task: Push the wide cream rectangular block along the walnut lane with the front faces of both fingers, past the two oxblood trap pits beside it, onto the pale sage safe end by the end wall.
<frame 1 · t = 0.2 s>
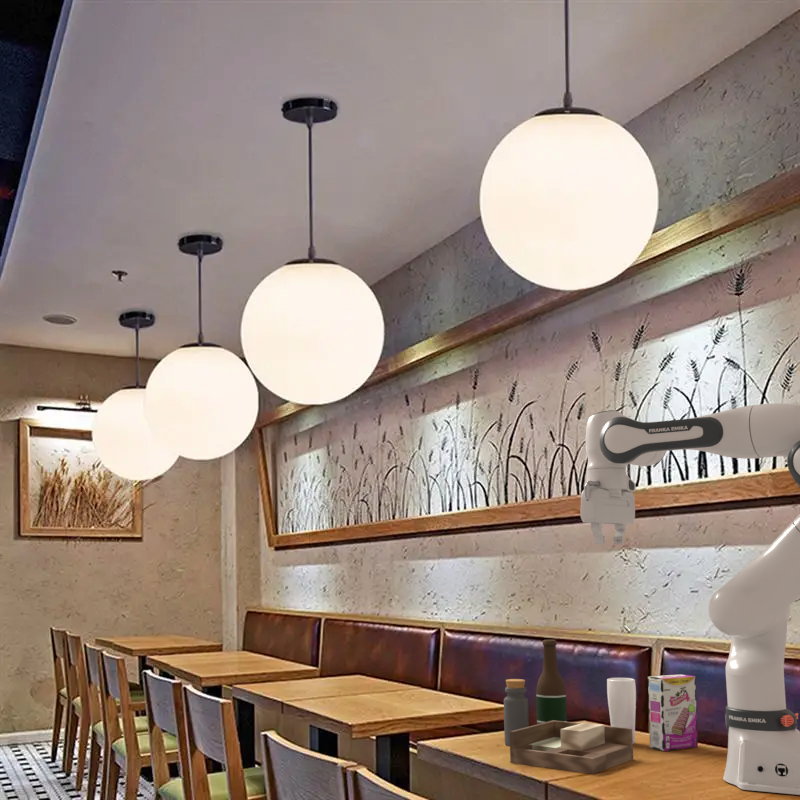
hand: (609, 544, 221), 47 cm above the table, fingers open, 8 cm apart
drinking glass: (623, 744, 236), on the table
beer bottle: (552, 741, 241), on the table
candy bar box: (674, 749, 230), on the table
brown compartment tray: (572, 760, 216), on the table
cream rectangular block: (583, 745, 217), point 3 cm above the table, touching brown compartment tray
bottle: (517, 745, 236), on the table
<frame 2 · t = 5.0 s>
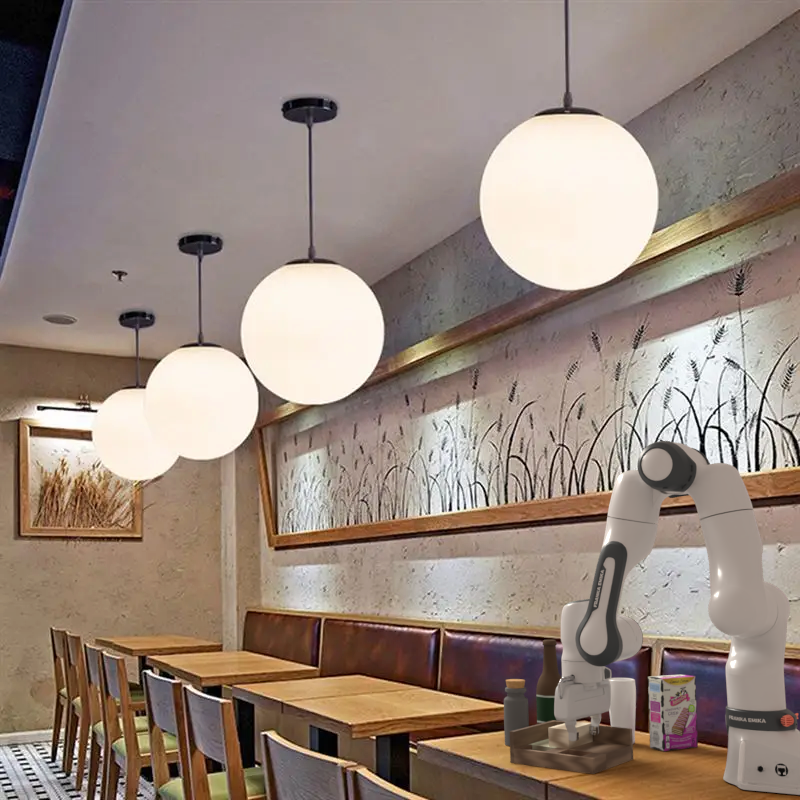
hand: (584, 737, 218), 5 cm above the table
cream rectangular block: (571, 744, 219), point 3 cm above the table, touching gripper, brown compartment tray
everything else where it was.
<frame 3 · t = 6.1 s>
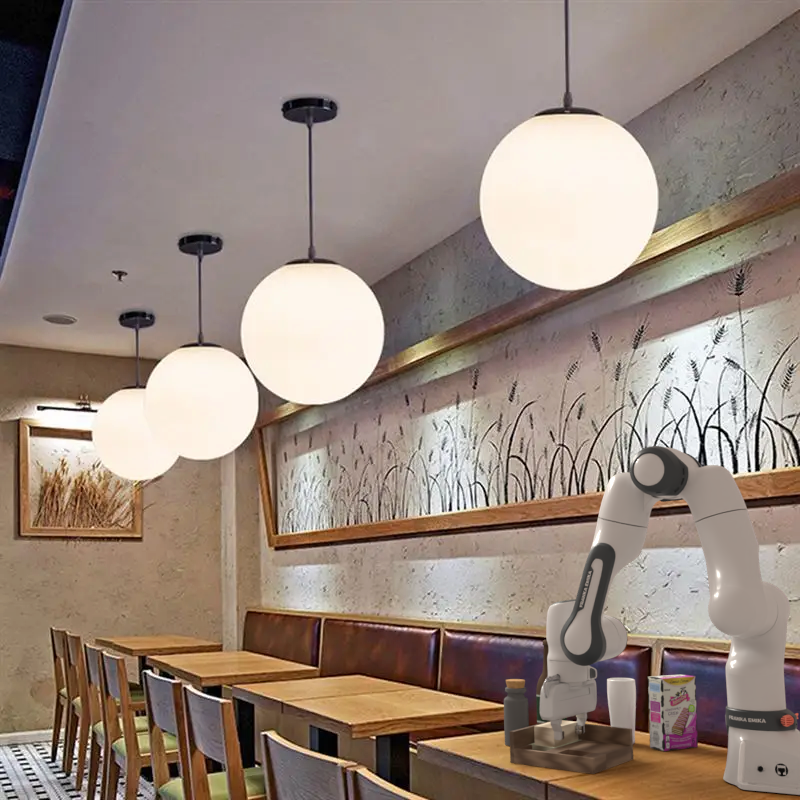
hand: (569, 736, 220), 5 cm above the table
cream rectangular block: (556, 742, 222), point 3 cm above the table, touching gripper, brown compartment tray
everything else where it was.
when the fingers open (5 cm above the table, at t = 6.5 s): cream rectangular block stays where it is, resting on brown compartment tray.
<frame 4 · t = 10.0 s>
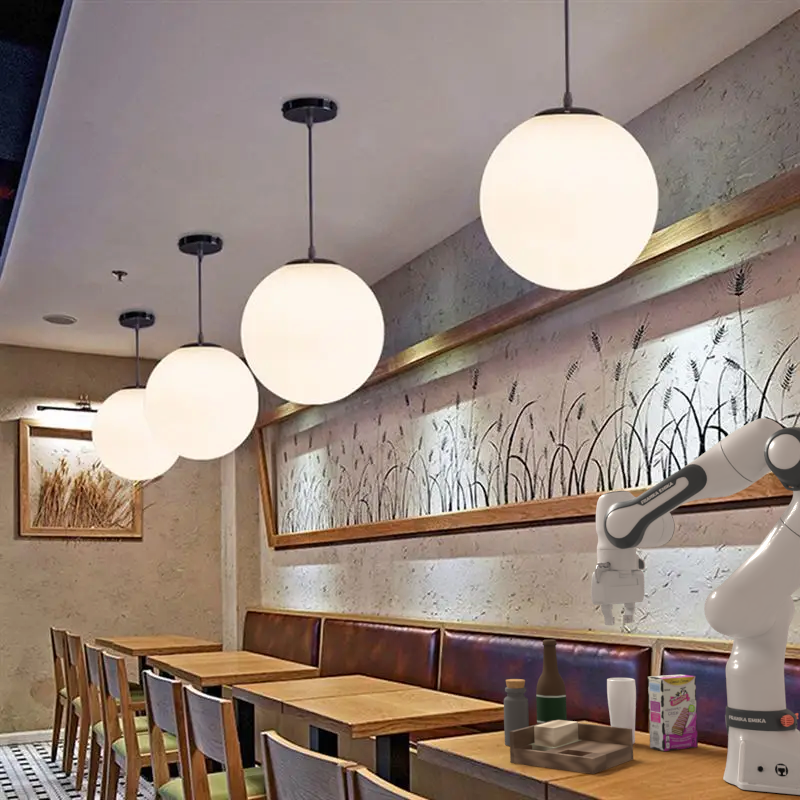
hand: (619, 624, 223), 29 cm above the table, fingers open, 8 cm apart
cream rectangular block: (556, 742, 222), point 3 cm above the table, touching brown compartment tray
everything else where it was.
at the end: cream rectangular block 0.5 cm from the target spot, point 3.0 cm above the table; cream rectangular block tilted 0°; cream rectangular block moved 6.7 cm from its start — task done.
